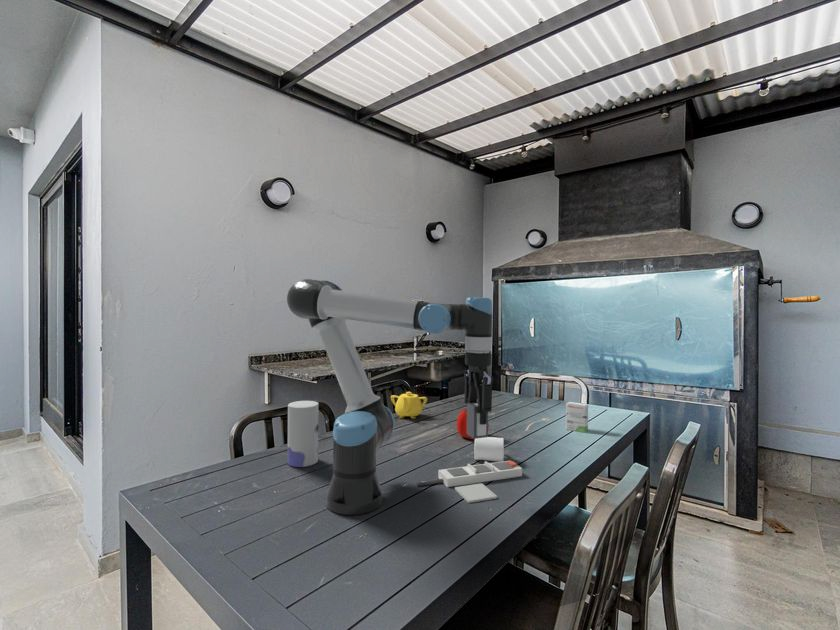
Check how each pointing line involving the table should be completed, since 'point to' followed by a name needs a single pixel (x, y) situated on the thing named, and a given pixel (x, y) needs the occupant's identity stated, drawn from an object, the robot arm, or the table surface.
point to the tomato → (463, 424)
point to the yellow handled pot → (408, 404)
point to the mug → (489, 449)
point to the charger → (474, 421)
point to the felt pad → (475, 493)
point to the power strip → (476, 473)
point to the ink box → (577, 417)
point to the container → (302, 433)
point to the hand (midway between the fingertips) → (476, 432)
